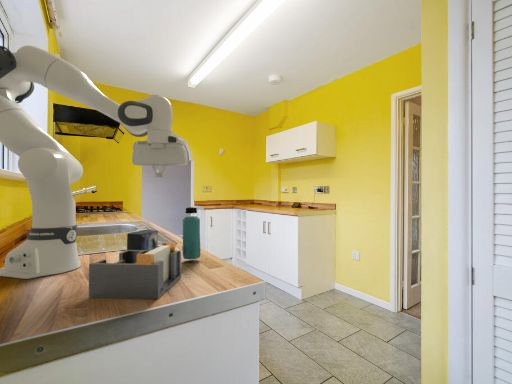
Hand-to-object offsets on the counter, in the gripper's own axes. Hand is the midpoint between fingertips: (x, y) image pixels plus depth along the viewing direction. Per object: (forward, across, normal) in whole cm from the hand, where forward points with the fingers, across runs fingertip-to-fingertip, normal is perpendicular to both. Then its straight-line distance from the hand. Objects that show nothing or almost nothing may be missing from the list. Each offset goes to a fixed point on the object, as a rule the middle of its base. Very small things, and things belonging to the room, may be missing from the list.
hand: (160, 177), depth 91 cm
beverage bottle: (+31, +12, 0) cm, 33 cm away
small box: (+31, -8, +3) cm, 33 cm away
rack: (+31, +6, -25) cm, 40 cm away
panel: (+30, +11, -25) cm, 41 cm away
